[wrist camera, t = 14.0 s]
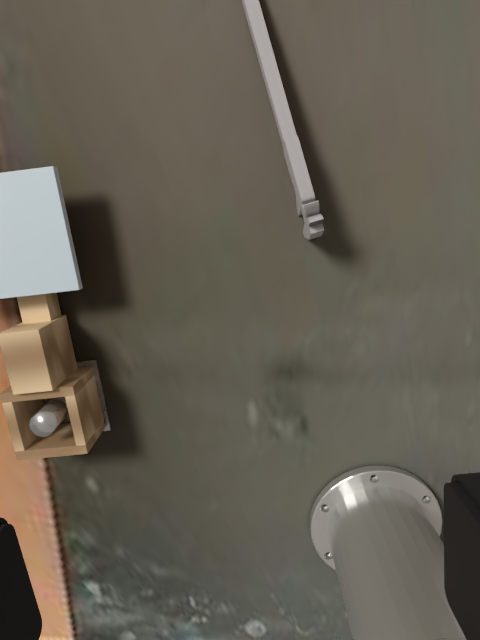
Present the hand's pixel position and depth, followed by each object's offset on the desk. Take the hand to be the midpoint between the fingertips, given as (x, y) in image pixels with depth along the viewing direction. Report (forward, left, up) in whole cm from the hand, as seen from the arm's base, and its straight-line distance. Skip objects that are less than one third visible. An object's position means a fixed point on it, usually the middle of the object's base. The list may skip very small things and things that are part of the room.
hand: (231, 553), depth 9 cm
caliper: (+14, -4, -29) cm, 32 cm away
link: (-2, +17, -28) cm, 33 cm away
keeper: (+7, +18, -28) cm, 34 cm away
